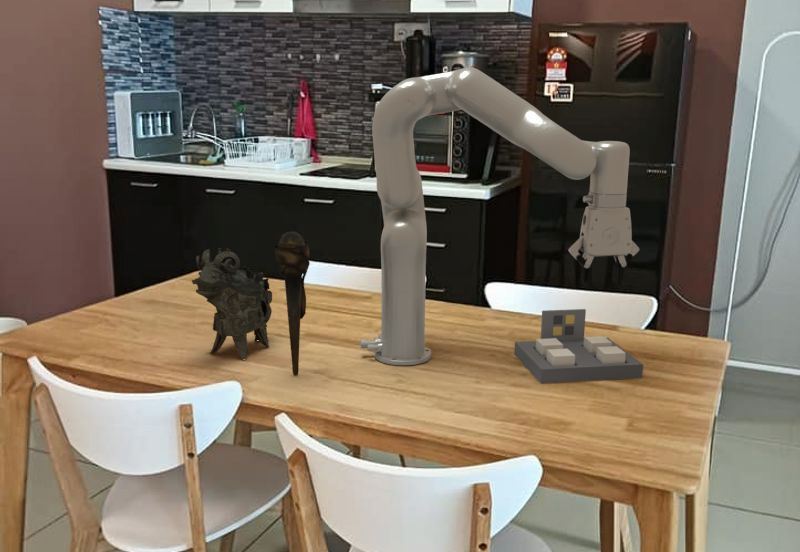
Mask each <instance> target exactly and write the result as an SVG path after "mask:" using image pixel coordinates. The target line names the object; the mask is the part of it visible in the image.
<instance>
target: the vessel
mask: <svg viewBox="0 0 800 552" xmlns="http://www.w3.org/2000/svg"><path fill="white" fill-rule="evenodd" d="M216 251H217V254H215V258H214V260H212V256H211V250H210V248H208V249H205V250H204V251H203V252H202V257H200V255H196V257H195V259H196V266H197V268H198V270H200V271H199V272H198V273H197V274H198V275H199V277H197V278H194V279H191V283H192V285H196V286H197V289H195V293H197V294H198V295H199V296H202V297H204V298H205V299H206V302H208V303H209V304H211V305H212V306H213V307H214V308H215V310H216V312H214V314H213V315H214V316H213V323H212V330H213V331H215V332H216V334H215V335H216V336H215V340H214V342H213V345H212V347H211V349H210V352H209V354H210V355H213V354H216V353H217V352H218V351H219V350H220V349H221V348H222V346H223V345H224V343H225V341H226V339H227V337H231V338H232V341H233V343H234V347H235V349H236V352H237V354H238V355H239V356H238V357H240V358H241V360H242V359H246V360H247V355H248V354H247V353H248V348H247V347H248V346H247V345H248V344H247V343H248V341H247V336H248V334H249V333H251V332H253V333H254V334H253V335H254V340H253V341H254V342H255V341H257V340H259V341H257V342H260V343H261V344H262V345H263V346H264V347H266V348H267V347H269V348H270V346H269V339H268V338H269V337H268V335H269V334H268V331H267V327H268V325H267V324H268V323H269V321H270V319H271V316H272V312H273V311H272V307H271V303H272V301H273V292H272V291H271V290H270V283H269V280H270V278H269V277H268V278H264V273H263V271H262V272H258V273H257V274H255V272H253V271H252V270H251V269H249V268H248V266H245V265H244V266H243V269H244V270H241V269H239V268H240V266H241V261H240V260H241V259H240V258H239V257H238V256H239V255H237V254H236V253H234V251H231V250H230V249H229V248H226V249H225V251H222V247H221V248H220V247H219V248H217V249H216ZM231 262H233V263H234V266H233V265H232V264H231ZM212 353H213V354H212Z"/></svg>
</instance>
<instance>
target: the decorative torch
mask: <svg viewBox="0 0 800 552" xmlns="http://www.w3.org/2000/svg"><path fill="white" fill-rule="evenodd" d="M280 237H281V238H279V241H277V245H275V246H274V255H275V260H276V262H277V264H278V265H279V268H280V271H281V274H283V276H284V287H285V297H286V299H285V301H286V308H287V309H286V311H287V320H288V321H287V322H288V331H289V333H288V334H289V344H290V353H291V354H290V355H291V363H292V364H291V365H292V370H291V371H292V374H293V375H294V376H296V375H298V374H299V366H300V365H299V362H300V359H299V358H300V336H301V320H302V319H303V318H304V317H305V315H306V310H307V295H306V290H305V278H306V276H307V273H308V270H309V266H310V263H311V262H310V260H309V259H310V247H309V244H308V242H307V241H305V239H304V238H303V237H302V235H301V234H300V233H298V232H297V231H287V232H285V233H283V234H282V235H281V236H280Z"/></svg>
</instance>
